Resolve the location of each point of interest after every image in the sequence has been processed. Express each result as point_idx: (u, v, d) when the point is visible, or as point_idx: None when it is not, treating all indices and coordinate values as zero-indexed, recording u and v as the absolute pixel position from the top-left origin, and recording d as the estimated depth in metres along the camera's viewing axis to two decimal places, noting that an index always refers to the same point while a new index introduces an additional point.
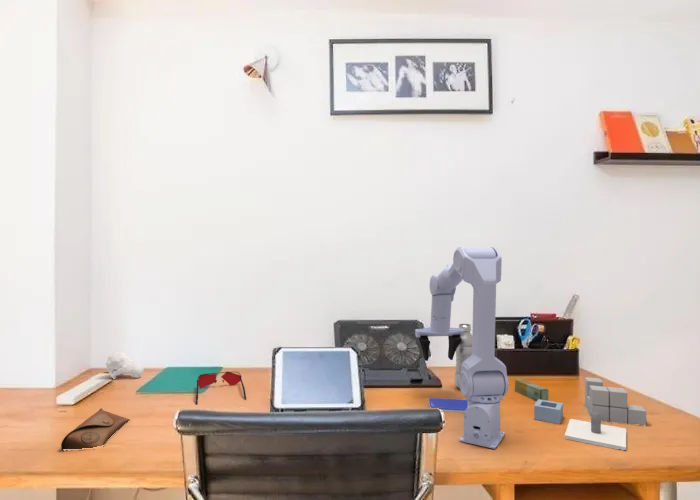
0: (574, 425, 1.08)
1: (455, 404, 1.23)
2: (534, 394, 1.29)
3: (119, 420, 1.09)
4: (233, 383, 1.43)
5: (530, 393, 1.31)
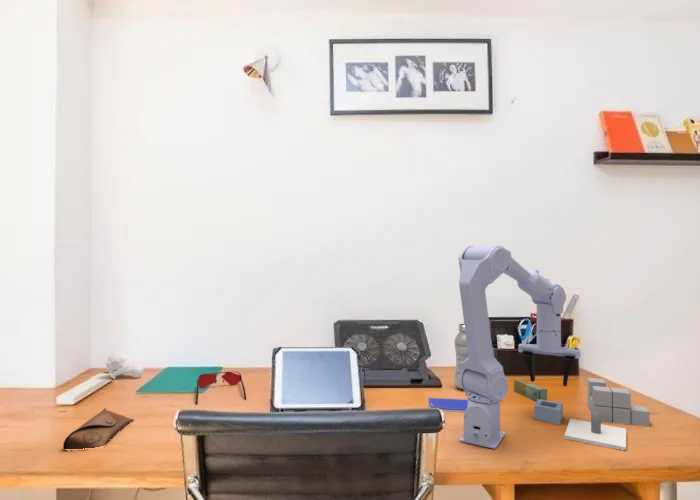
0: (574, 425, 1.08)
1: (455, 403, 1.23)
2: (533, 394, 1.29)
3: (123, 420, 1.09)
4: (233, 383, 1.43)
5: (529, 393, 1.31)
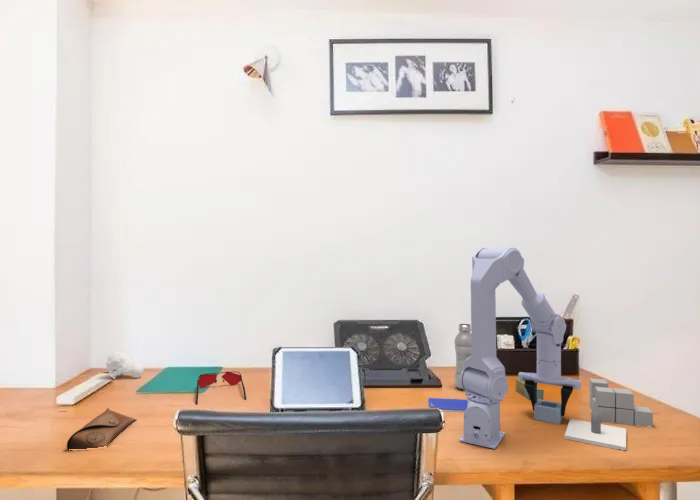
0: (574, 425, 1.08)
1: (455, 403, 1.23)
2: None
3: (126, 420, 1.09)
4: (233, 383, 1.43)
5: (527, 393, 1.31)
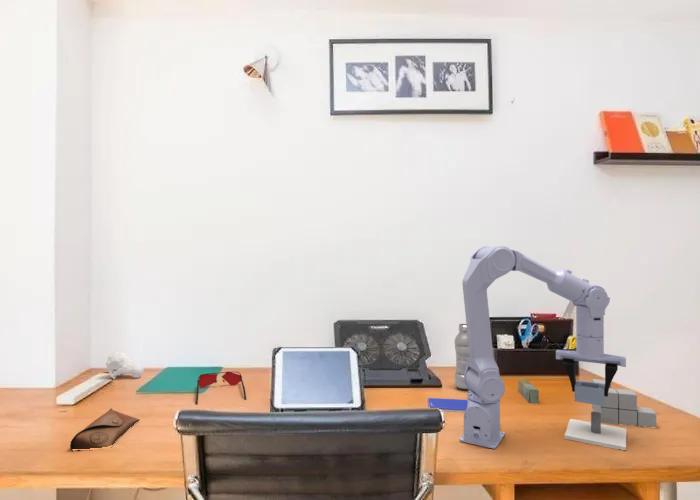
0: (574, 425, 1.08)
1: (455, 403, 1.23)
2: (526, 394, 1.29)
3: (129, 420, 1.09)
4: (234, 383, 1.43)
5: (524, 392, 1.31)
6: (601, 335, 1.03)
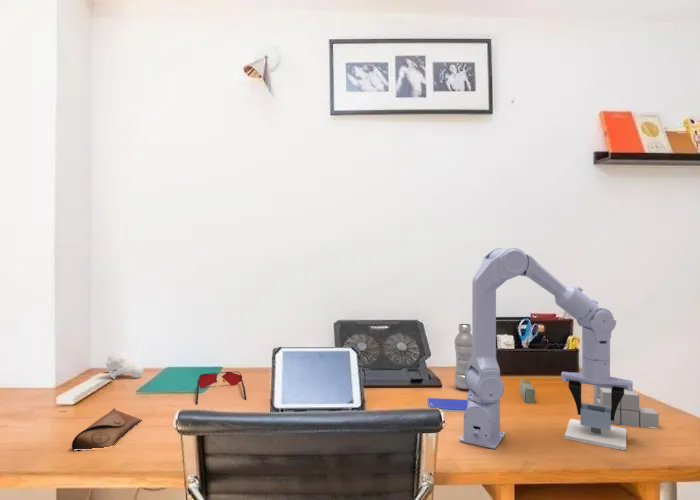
0: (574, 425, 1.08)
1: (454, 403, 1.23)
2: (523, 393, 1.30)
3: (131, 420, 1.09)
4: (234, 383, 1.43)
5: (523, 392, 1.31)
6: (607, 358, 1.02)
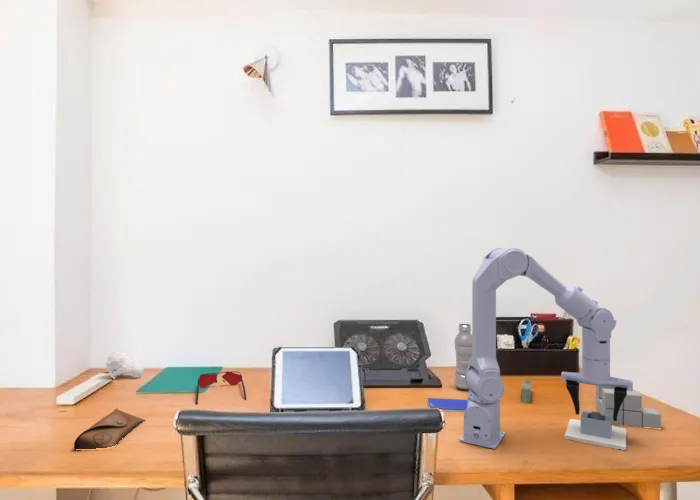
0: (574, 425, 1.08)
1: (454, 403, 1.23)
2: None
3: (134, 420, 1.09)
4: (234, 383, 1.43)
5: None
6: (607, 358, 1.02)
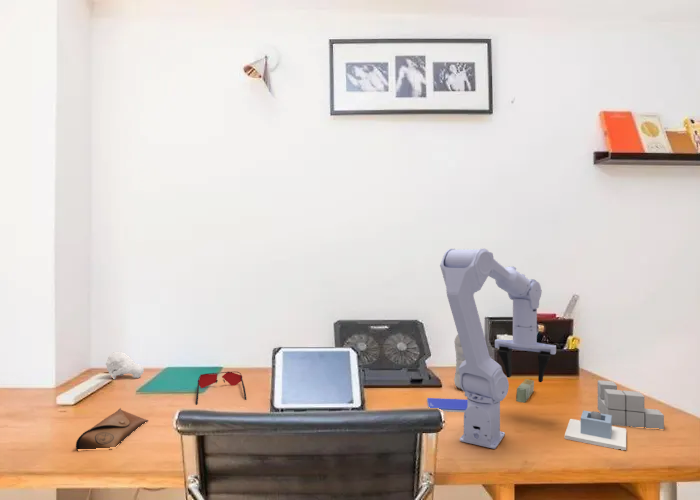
0: (574, 425, 1.08)
1: (454, 403, 1.23)
2: None
3: (136, 420, 1.09)
4: (234, 383, 1.43)
5: None
6: (536, 324, 1.13)
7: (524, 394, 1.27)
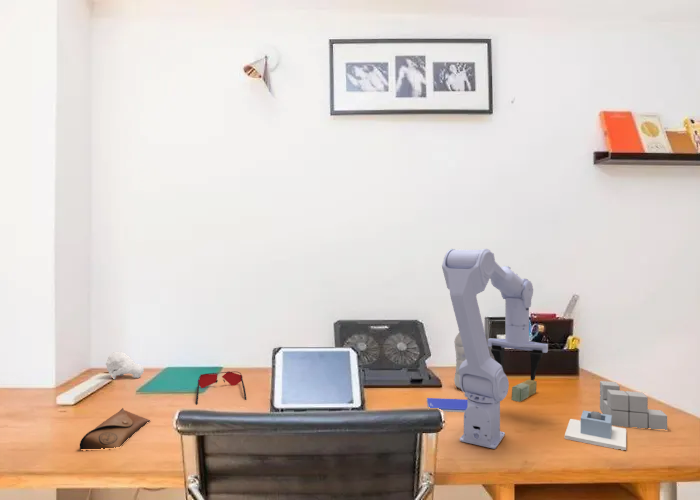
0: (574, 425, 1.08)
1: (454, 403, 1.23)
2: None
3: (139, 420, 1.09)
4: (234, 383, 1.43)
5: None
6: (528, 323, 1.15)
7: (519, 393, 1.28)
